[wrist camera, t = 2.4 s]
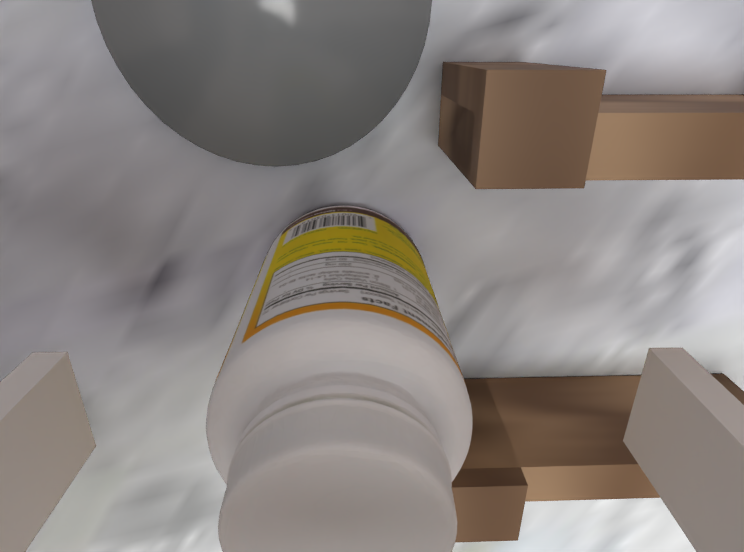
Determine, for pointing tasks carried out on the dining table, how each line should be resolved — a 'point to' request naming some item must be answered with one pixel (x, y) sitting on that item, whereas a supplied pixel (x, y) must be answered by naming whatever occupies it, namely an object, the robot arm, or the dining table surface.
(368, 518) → the supplement bottle
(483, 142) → the walnut channel
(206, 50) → the slate coaster
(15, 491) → the robot arm
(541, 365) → the dining table surface
